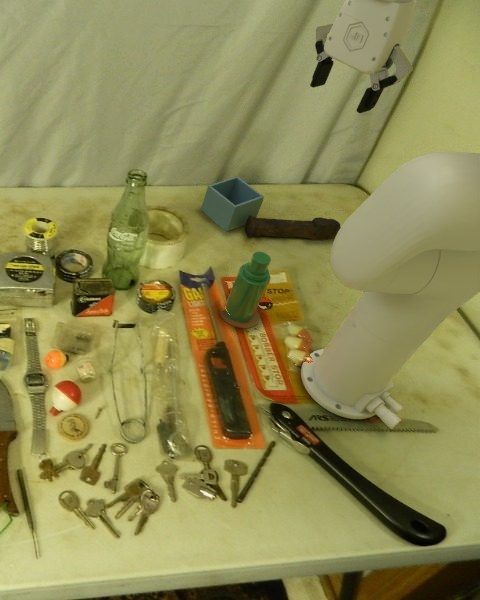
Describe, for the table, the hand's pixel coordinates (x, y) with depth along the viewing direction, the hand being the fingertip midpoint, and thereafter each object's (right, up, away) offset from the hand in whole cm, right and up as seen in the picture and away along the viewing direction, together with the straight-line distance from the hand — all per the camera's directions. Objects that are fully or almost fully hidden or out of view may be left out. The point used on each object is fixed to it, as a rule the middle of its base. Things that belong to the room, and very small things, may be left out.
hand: (339, 98), depth 88 cm
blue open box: (-12, -16, +22) cm, 30 cm away
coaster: (-16, -36, +4) cm, 39 cm away
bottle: (-16, -36, +3) cm, 39 cm away
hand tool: (-1, -20, +20) cm, 29 cm away
